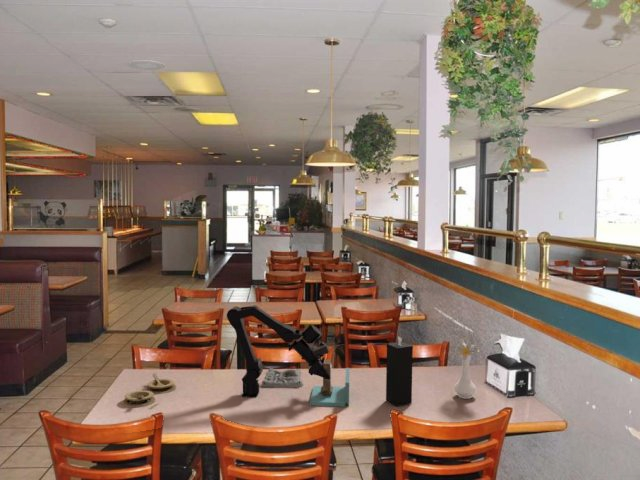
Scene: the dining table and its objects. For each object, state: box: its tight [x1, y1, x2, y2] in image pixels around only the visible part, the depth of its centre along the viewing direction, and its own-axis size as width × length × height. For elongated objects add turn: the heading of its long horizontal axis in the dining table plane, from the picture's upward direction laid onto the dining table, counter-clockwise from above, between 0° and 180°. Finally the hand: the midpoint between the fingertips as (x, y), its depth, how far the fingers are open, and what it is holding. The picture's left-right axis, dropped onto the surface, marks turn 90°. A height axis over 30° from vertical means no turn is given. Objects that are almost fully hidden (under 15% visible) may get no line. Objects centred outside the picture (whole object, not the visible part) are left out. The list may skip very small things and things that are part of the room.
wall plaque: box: [261, 368, 304, 389], centre depth 260 cm, size 24×19×4 cm
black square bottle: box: [385, 335, 414, 407], centre depth 231 cm, size 8×8×28 cm
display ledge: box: [309, 367, 350, 408], centre depth 236 cm, size 16×20×10 cm
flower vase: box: [449, 338, 483, 400], centre depth 239 cm, size 13×18×25 cm
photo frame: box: [320, 359, 333, 394], centre depth 236 cm, size 5×6×13 cm
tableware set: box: [121, 373, 177, 410], centre depth 238 cm, size 30×20×6 cm, turn 164°
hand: (330, 376), depth 236 cm, fingers closed on photo frame, 6 cm apart
